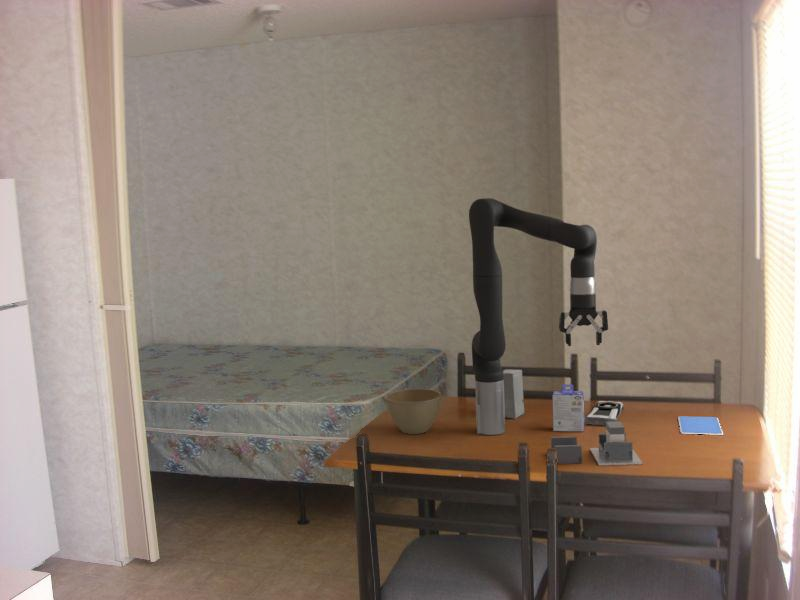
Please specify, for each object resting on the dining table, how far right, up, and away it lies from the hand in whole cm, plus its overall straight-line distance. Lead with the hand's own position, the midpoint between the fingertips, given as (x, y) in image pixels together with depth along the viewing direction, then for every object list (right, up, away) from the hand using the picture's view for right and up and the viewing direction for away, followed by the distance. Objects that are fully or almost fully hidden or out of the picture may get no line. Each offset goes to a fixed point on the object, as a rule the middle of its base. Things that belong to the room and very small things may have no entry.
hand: (583, 345), depth 244 cm
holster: (-7, -32, -11) cm, 35 cm away
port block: (+7, -32, -12) cm, 34 cm away
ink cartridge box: (-1, -29, +18) cm, 34 cm away
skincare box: (-17, -27, +38) cm, 49 cm away
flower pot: (-51, -30, +24) cm, 63 cm away
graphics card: (+15, -27, +31) cm, 43 cm away
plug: (+7, -31, -12) cm, 34 cm away
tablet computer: (+40, -28, +14) cm, 51 cm away
